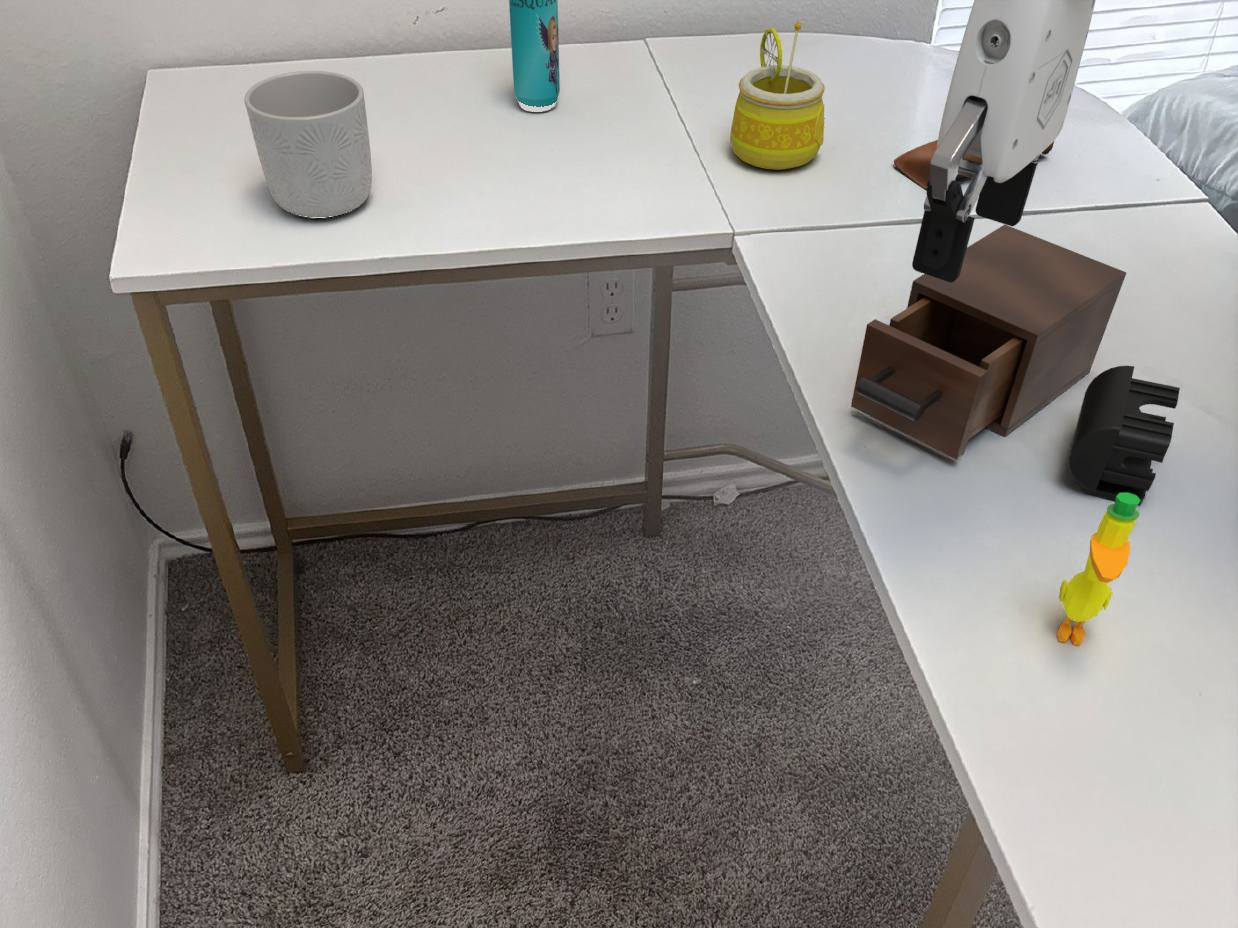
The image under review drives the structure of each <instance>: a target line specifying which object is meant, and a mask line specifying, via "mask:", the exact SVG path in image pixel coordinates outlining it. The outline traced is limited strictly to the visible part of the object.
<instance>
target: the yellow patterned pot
mask: <svg viewBox="0 0 1238 928" xmlns="http://www.w3.org/2000/svg"><path fill="white" fill-rule="evenodd" d="M793 27H794V31H795V33H794V37H793V44H792V47H791V53H790V59H789V64H788V65H787V64H786V65H785V64H783V47H782V42H781V38H780V35H779V34H778V32H777V30H776V29H775V28H772V27H771V28H767V29H766V30H765V31H764V33H763V35H762V38H761V41H760V47H759V60H760V61H759V62H760V67H757V68H754V69H752V70H750V71H748V72H747V73H746V74H745V75H743V77H742V78H740V80H739V82H738V89H739V92H738V95H737V98H736V102H735V105H734V111H733V116H732V121H731V128H730V137H729V139H730V140H729V141H730V145H731V149H732V151H733V153H734V154H735V155H736V156H737V157H738V159H740V160H741V161H743V162H744V163H746V164H748V165H751V166H753V167H756V168H761V169H764V170H777V171H778V170H779V171H780V170H781V171H782V170H788V169H792V168H799V167H800V166H803V165H806V164H808V163H809V162H810V161H812V160H814V159H815V157H816V156H817V154H818V152H819V151H820V149H821V147H822V145H823V144H824V139H825V138H824V137H825V136H824V135H825V134H824V133H825V122H826V121H825V120H826V117H825V103H824V101H823V95H824V93H825V88H826V87H825V84H824V82H823V81H822V79H821V77H819V76H818V75H817V74H815V72H812V71H811V70H808V69H804V68H801V67H798V66H793V61H794V56H795V51H796V45H797V41H798V35H799V32H800V30H801V29H802V23H801V21H796V23H795V24H794V26H793ZM772 36H773V40H772ZM769 40H770V46H771V47H770V49H769ZM766 44H767V48H766ZM774 44H775V45H774ZM773 48H774V49H773ZM776 49H777V55H774V53H775V50H776ZM765 55H766V56H768V58H767V60H765V59H766V58H765ZM768 62H769V63H768ZM772 62H773V65H771V63H772ZM775 63H776V65H775Z"/></svg>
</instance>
